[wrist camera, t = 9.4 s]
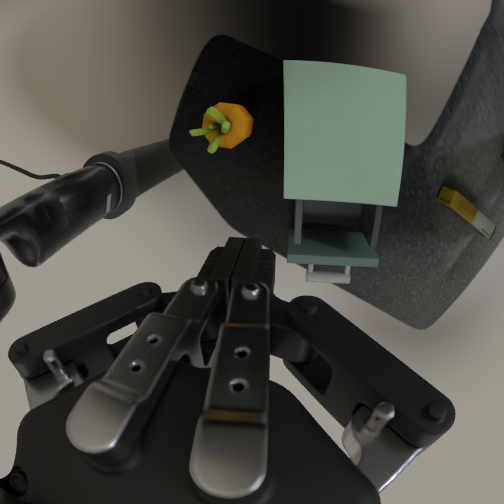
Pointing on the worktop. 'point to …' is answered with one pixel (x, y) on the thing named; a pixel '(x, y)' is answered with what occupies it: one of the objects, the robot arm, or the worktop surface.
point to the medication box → (466, 212)
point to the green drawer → (334, 238)
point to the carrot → (225, 126)
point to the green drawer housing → (343, 132)
